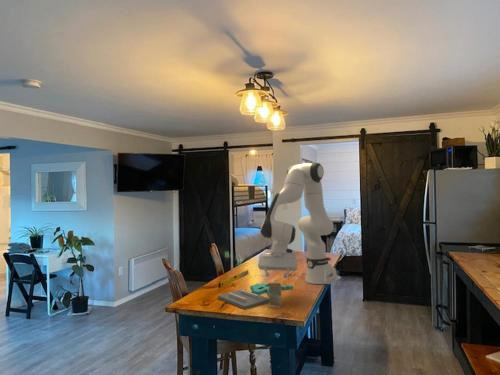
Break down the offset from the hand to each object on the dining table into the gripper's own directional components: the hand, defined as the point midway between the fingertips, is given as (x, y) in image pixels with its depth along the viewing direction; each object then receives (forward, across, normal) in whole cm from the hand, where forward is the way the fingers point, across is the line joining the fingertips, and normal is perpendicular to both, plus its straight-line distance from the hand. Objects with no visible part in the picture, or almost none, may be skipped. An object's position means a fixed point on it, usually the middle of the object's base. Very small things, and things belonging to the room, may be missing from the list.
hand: (276, 276), depth 181 cm
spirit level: (-17, -33, +36) cm, 52 cm away
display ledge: (+9, -17, +9) cm, 22 cm away
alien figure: (-4, -8, +22) cm, 24 cm away
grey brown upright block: (+13, 0, +5) cm, 14 cm away
